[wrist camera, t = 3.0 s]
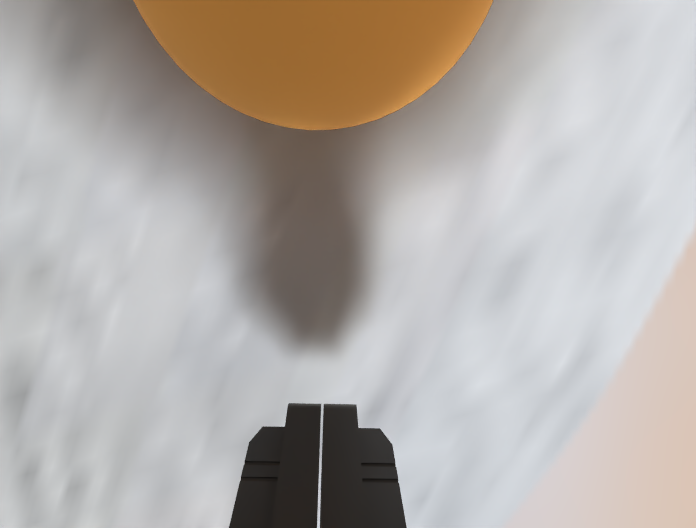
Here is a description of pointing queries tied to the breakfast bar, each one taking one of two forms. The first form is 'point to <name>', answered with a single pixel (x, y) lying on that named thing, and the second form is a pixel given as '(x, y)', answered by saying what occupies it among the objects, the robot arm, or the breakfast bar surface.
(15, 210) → the breakfast bar surface
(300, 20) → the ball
